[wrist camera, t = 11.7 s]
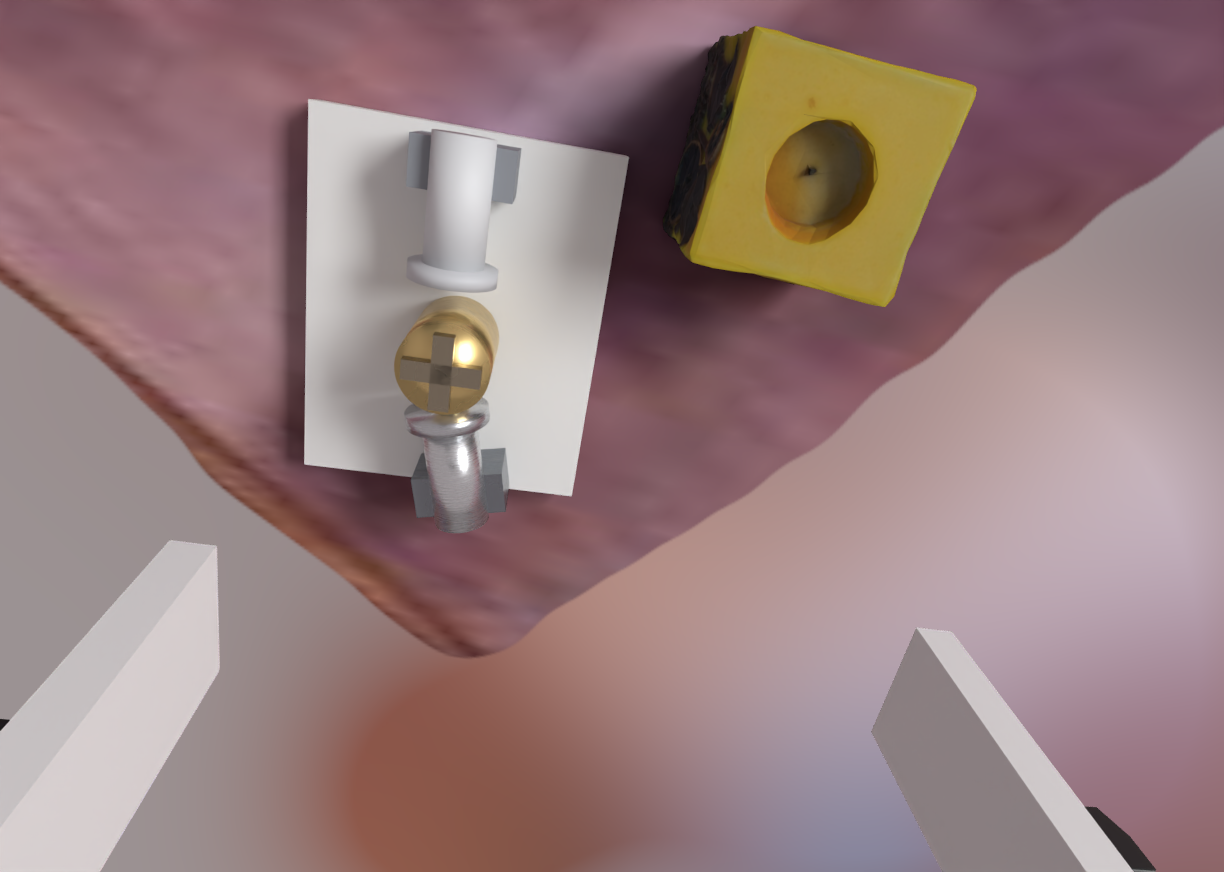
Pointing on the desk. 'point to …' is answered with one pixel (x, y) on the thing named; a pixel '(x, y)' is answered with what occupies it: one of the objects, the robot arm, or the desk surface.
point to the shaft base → (452, 281)
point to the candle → (811, 163)
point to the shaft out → (457, 469)
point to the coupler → (448, 356)
